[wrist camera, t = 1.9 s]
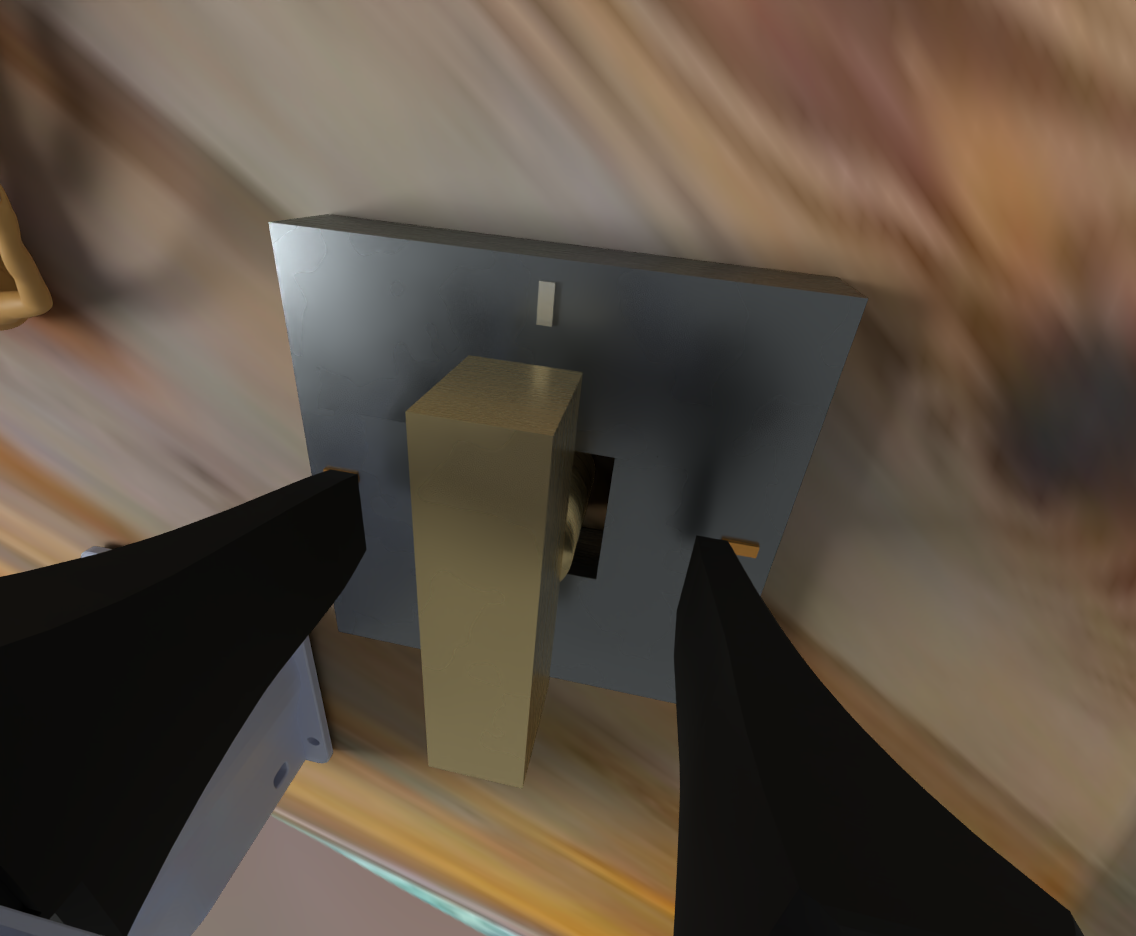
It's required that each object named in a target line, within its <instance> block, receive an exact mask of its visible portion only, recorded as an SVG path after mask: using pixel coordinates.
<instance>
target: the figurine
mask: <svg viewBox="0 0 1136 936" xmlns="http://www.w3.org/2000/svg"><path fill="white" fill-rule="evenodd" d="M0 197H1V201H0V331H2V330H8V329H12V328H15V327H18V326H20V325H21V324H23V323H24V322H25V321H26V320H27V319H28V318H29V317H34V316H38V315H41V314H44V313H46V312H47V311H49V310H50V309H51V308H52V306H53V301H52V297H51V294H50V292H49V289H48V288H47V286H46V284H45V282H44V280H43V279H42V277H41V275H40V272H39V270H38V268H37V266H36V264H35V262H34V260H33V258H32V257H31V255H30V253H29V252H28V250H27V249H26V248H25V246H24V245H23V243H22V240H21V235H20V228H19V224H18V220H17V216H16V214H15V212H14V211H13V209H12V206H11V204H10V201H9V199H8V197H7V195H6V193H5V191H4V189H3V187H2V186H1V184H0Z"/></svg>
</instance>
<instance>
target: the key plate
mask: <svg viewBox="0 0 1136 936" xmlns="http://www.w3.org/2000/svg"><path fill="white" fill-rule="evenodd" d="M269 227H270V233H271V239H272V245H273V251H274V257H275V263H276V268H277V274H278V280H279V286H280V292H281V298H282V303H283V309H284V315H285V321H286V327H287V333H288V339H289V344H290V350H291V356H292V362H293V368H294V374H295V379H296V385H297V391H298V397H299V403H300V409H301V415H302V420H303V426H304V432H305V438H306V444H307V450H308V455H309V461H310V467H311V473H312V476H313V475H315V474H318V473H321V472H324V471H328V470H331V469H332V470H337V471H343V472H348V473H354V474H357V475H358V483H359V491H360V499H361V507H362V516H363V524H364V532H365V540H366V548H367V550H366V552H365V554H364V556H363V557H362V559H361V561H360V563H359V565H358V566H357V568H356V570H355V572H354V573H353V575H352V577H351V578H350V580H349V582H348V583H347V585H346V587H345V588H344V590H343V591H342V592H341V594H340V595H339V596H338V598H337V599H336V600H335V602H334V608H335V613H336V619H337V625H338V631H339V632H344V633H348V634H353V635H358V636H362V637H367V638H372V639H376V640H381V641H386V642H390V643H395V644H400V645H404V646H409V647H414V648H418V649H421V645H420V630H419V614H418V599H417V584H416V568H415V553H414V537H413V522H412V507H411V491H410V476H409V461H408V445H407V430H406V414H405V412H406V411H407V410H408V409H409V408H410V407H411V406H412V405H413V404H415V403H416V402H417V401H418V400H419V399H420V398H421V397H422V396H424V395H425V394H426V393H427V392H428V391H429V390H430V389H431V388H433V387H434V386H435V385H436V384H437V383H438V382H439V381H440V380H441V379H443V378H444V377H445V376H446V375H447V374H448V373H449V372H450V371H452V370H453V369H454V368H455V367H456V366H457V365H458V364H459V363H461V362H462V361H463V360H464V359H465V358H466V357H467V356H468V355H471V356H478V357H484V358H491V359H498V360H504V361H511V362H518V363H524V364H531V365H538V366H544V367H551V368H558V369H564V370H571V371H578V372H583V378H582V387H581V396H580V405H579V414H578V423H577V432H576V441H575V450H574V451H578V452H584V453H590V454H596V455H602V456H608V457H614V458H615V461H614V467H613V474H612V480H611V487H610V493H609V500H608V506H607V513H606V519H605V526H604V531H599V530H593V529H588V528H582V527H581V530H580V534H579V538H578V541H577V545H576V549H575V552H574V556H573V560H572V563H571V566H570V569H569V571H568V573H567V575H566V576H565V577H564V578H563V580H562V581H560V585H559V595H558V604H557V613H556V622H555V631H554V640H553V649H552V658H551V667H550V676H549V677H554V678H558V679H563V680H568V681H572V682H577V683H582V684H586V685H591V686H596V687H600V688H605V689H610V690H614V691H619V692H624V693H628V694H633V695H638V696H642V697H647V698H652V699H656V700H661V701H666V702H670V703H675V704H676V691H675V672H674V643H675V628H676V613H677V608H678V604H679V600H680V596H681V592H682V589H683V585H684V581H685V577H686V573H687V569H688V566H689V562H690V558H691V554H692V550H693V547H694V543H695V539H696V535H698V536H703V537H709V538H714V539H720V540H726V541H728V542H729V544H730V545H731V546H732V548H733V550H734V552H735V554H736V555H737V557H738V559H739V561H740V563H741V564H742V566H743V568H744V570H745V571H746V573H747V575H748V577H749V578H750V580H751V582H752V583H753V585H754V587H755V588H756V590H757V592H758V593H759V595H760V596H761V593H762V590H763V588H764V585H765V582H766V579H767V577H768V574H769V571H770V568H771V566H772V563H773V560H774V557H775V554H776V552H777V549H778V546H779V543H780V541H781V538H782V535H783V532H784V530H785V527H786V524H787V521H788V519H789V516H790V513H791V510H792V508H793V505H794V502H795V499H796V497H797V494H798V491H799V488H800V486H801V483H802V480H803V477H804V474H805V472H806V469H807V466H808V463H809V461H810V458H811V455H812V452H813V450H814V447H815V444H816V441H817V439H818V436H819V433H820V430H821V428H822V425H823V422H824V419H825V417H826V414H827V411H828V408H829V405H830V403H831V400H832V397H833V394H834V392H835V389H836V386H837V383H838V381H839V378H840V375H841V372H842V370H843V367H844V364H845V361H846V359H847V356H848V353H849V350H850V348H851V345H852V342H853V339H854V337H855V334H856V331H857V328H858V325H859V323H860V320H861V317H862V314H863V312H864V309H865V306H866V303H867V301H868V298H867V297H865V296H864V295H862V294H861V293H860V292H858V291H857V290H855V289H854V288H852V287H851V286H849V285H848V284H847V283H845V282H844V281H842V280H841V279H839V278H837V277H829V276H821V275H813V274H805V273H797V272H788V271H780V270H772V269H764V268H756V267H748V266H740V265H732V264H724V263H716V262H708V261H700V260H692V259H684V258H676V257H667V256H659V255H651V254H643V253H635V252H627V251H619V250H611V249H603V248H595V247H587V246H579V245H571V244H563V243H555V242H546V241H538V240H530V239H522V238H514V237H506V236H498V235H490V234H482V233H474V232H466V231H458V230H450V229H442V228H433V227H425V226H417V225H409V224H401V223H393V222H385V221H377V220H369V219H361V218H353V217H345V216H337V215H329V214H326V215H319V216H311V217H304V218H296V219H289V220H281V221H274V222H269Z"/></svg>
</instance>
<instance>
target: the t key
mask: <svg viewBox="0 0 1136 936" xmlns="http://www.w3.org/2000/svg"><path fill="white" fill-rule="evenodd" d="M582 378H583V372H578V371H571V370H564V369H558V368H551V367H544V366H538V365H531V364H524V363H518V362H511V361H504V360H498V359H491V358H484V357H478V356H471V355H468V356H467V357H466V358H465V359H464V360H463V361H462V362H461V363H459V364H458V365H457V366H456V367H455V368H454V369H453V370H452V371H450V372H449V373H448V374H447V375H446V376H445V377H444V378H443V379H441V380H440V381H439V382H438V383H437V384H436V385H435V386H434V387H433V388H431V389H430V390H429V391H428V392H427V393H426V394H425V395H424V396H422V397H421V398H420V399H419V400H418V401H417V402H416V403H415V404H413V405H412V406H411V407H410V408H409V409H408V410H407V411H406V412H405V414H406V430H407V445H408V461H409V476H410V491H411V507H412V522H413V537H414V553H415V568H416V584H417V599H418V614H419V630H420V645H421V661H422V676H423V691H424V707H425V722H426V738H427V753H428V766H430V767H434V768H438V769H442V770H446V771H451V772H455V773H459V774H463V775H467V776H471V777H476V778H480V779H484V780H488V781H492V782H497V783H501V784H505V785H509V786H513V787H517V788H522V789H523V785H524V781H525V777H526V773H527V769H528V765H529V761H530V757H531V753H532V749H533V745H534V741H535V737H536V733H537V729H538V725H539V721H540V717H541V713H542V709H543V706H544V702H545V698H546V694H547V690H548V685H549V676H550V667H551V658H552V649H553V640H554V631H555V622H556V613H557V604H558V595H559V585H560V581H562V580H563V578H564V577H565V576H566V575H567V573H568V571H569V569H570V566H571V563H572V560H573V556H574V552H575V549H576V545H577V541H578V538H579V534H580V530H581V527H582V523H583V519H584V516H585V512H586V508H587V505H588V501H589V497H590V494H591V490H592V486H593V483H594V479H595V463H594V459H593V457H592V454H590V453H584V452H578V451H574V450H575V441H576V432H577V423H578V414H579V405H580V396H581V387H582Z"/></svg>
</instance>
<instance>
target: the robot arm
mask: <svg viewBox="0 0 1136 936" xmlns="http://www.w3.org/2000/svg"><path fill="white" fill-rule="evenodd" d="M366 550H367V548H366V540H365V532H364V524H363V516H362V507H361V499H360V491H359V483H358V475H357V474H354V473H348V472H343V471H337V470H332V469H331V470H328V471H324V472H321V473H318V474H315V475H313V476H310V477H307V478H305V479H302V480H300V481H297V482H295V483H292V484H290V485H287V486H285V487H282V488H280V489H278V490H275V491H273V492H270V493H268V494H265V495H263V496H261V497H258V498H256V499H253V500H251V501H248V502H246V503H243V504H241V505H239V506H236V507H234V508H231V509H229V510H226V511H223V512H221V513H218V514H215V515H213V516H210V517H207V518H205V519H202V520H199V521H197V522H194V523H191V524H189V525H186V526H183V527H181V528H178V529H175V530H172V531H169V532H167V533H164V534H161V535H158V536H155V537H151V538H148V539H145V540H142V541H139V542H136V543H132V544H129V545H126V546H122V547H119V548H116V549H108V548H104V547H98V546H93V547H91V548H89V549H88V550H86V551H85V552H83V553H82V555H81V558H79V559H75V560H71V561H67V562H62V563H58V564H54V565H50V566H46V567H42V568H38V569H34V570H30V571H26V572H21V573H17V574H12V575H7V576H2V577H0V936H191V935H192V934H193V932H194V931H195V930H196V929H197V928H198V926H199V925H200V924H201V923H202V921H203V920H204V918H205V917H206V916H207V914H208V913H209V911H210V910H211V908H212V907H213V905H214V904H215V902H216V901H217V899H218V897H219V896H220V894H221V892H222V891H223V889H224V888H225V886H226V885H227V883H228V882H229V880H230V878H231V877H232V875H233V873H234V872H235V870H236V869H237V867H238V866H239V864H240V862H241V861H242V859H243V858H244V856H245V854H246V853H247V851H248V850H249V848H250V847H251V845H252V844H253V842H254V840H255V839H256V837H257V836H258V834H259V832H260V831H261V829H262V828H263V826H264V824H265V823H266V821H267V820H268V818H269V817H270V815H271V813H272V812H273V810H274V809H275V807H276V805H277V804H278V802H279V801H280V799H281V798H282V796H283V794H284V793H285V791H286V790H287V788H288V786H289V785H290V783H291V782H292V780H293V779H294V777H295V775H296V774H297V772H298V771H299V769H300V767H301V766H302V764H303V763H304V761H305V760H309V761H313V762H317V763H326V762H328V761H329V759H330V758H331V756H332V754H333V749H332V744H331V739H330V734H329V730H328V725H327V720H326V715H325V711H324V706H323V701H322V696H321V692H320V687H319V682H318V678H317V673H316V668H315V663H314V659H313V654H312V649H311V644H310V640H309V634H310V632H311V631H312V630H313V629H314V627H315V626H316V625H317V624H318V622H319V621H320V620H321V618H322V617H323V616H324V615H325V613H326V612H327V611H328V609H329V608H330V607H331V606H332V604H333V603H334V602H335V600H336V599H337V598H338V596H339V595H340V594H341V592H342V591H343V590H344V588H345V587H346V585H347V583H348V582H349V580H350V578H351V577H352V575H353V573H354V572H355V570H356V568H357V566H358V565H359V563H360V561H361V559H362V557H363V556H364V554H365V552H366ZM674 672H675V691H676V709H677V726H678V744H679V761H680V808H679V834H678V858H677V879H676V900H675V919H674V936H1084V935H1083V933H1082V931H1081V930H1080V928H1079V926H1078V925H1077V923H1076V921H1075V920H1074V918H1073V916H1072V915H1071V913H1070V911H1069V910H1067V909H1066V908H1065V907H1064V906H1063V905H1061V904H1060V903H1059V902H1058V901H1056V900H1055V899H1054V898H1053V897H1051V896H1050V895H1049V894H1048V893H1046V892H1045V891H1044V890H1043V889H1042V888H1040V887H1039V886H1038V885H1037V884H1035V883H1034V882H1033V881H1032V880H1030V879H1029V878H1028V877H1027V876H1025V875H1024V874H1023V873H1022V872H1021V871H1019V870H1018V869H1017V868H1016V867H1014V866H1013V865H1012V864H1011V863H1009V862H1008V861H1007V860H1006V859H1004V858H1003V857H1002V856H1001V855H1000V854H998V853H997V852H996V851H995V850H993V849H992V848H991V847H990V846H988V845H987V844H986V843H985V842H983V841H982V840H981V839H980V838H979V837H978V836H976V835H975V834H974V833H973V832H972V831H971V830H969V829H968V828H967V827H966V826H965V825H964V824H963V823H961V822H960V821H959V820H958V819H957V818H956V817H955V816H954V815H953V814H951V813H950V812H949V811H948V810H947V809H946V808H945V807H944V806H942V805H941V804H940V803H939V802H938V801H937V800H936V799H935V798H933V797H932V796H931V795H930V794H929V793H928V792H927V791H926V790H925V789H924V788H923V787H921V786H920V785H919V784H918V783H917V782H916V781H915V780H914V779H913V778H912V777H911V776H910V775H909V774H908V773H907V772H906V771H904V770H903V769H902V768H901V767H900V766H899V765H898V764H897V763H896V762H895V761H894V760H893V759H892V758H891V757H890V756H889V755H888V754H887V753H886V752H885V751H884V750H883V749H882V748H881V747H880V746H879V745H878V744H877V743H876V742H875V741H874V740H873V738H872V737H871V736H870V735H869V734H868V733H867V732H866V731H865V730H864V729H863V728H862V727H861V726H860V725H859V724H858V723H857V722H856V721H855V720H854V719H853V718H852V716H851V715H850V714H849V713H848V712H847V711H846V710H845V709H844V708H843V706H842V705H841V704H840V703H839V702H838V701H837V699H836V698H835V697H834V696H833V695H832V694H831V692H830V691H829V690H828V689H827V688H826V687H825V686H824V684H823V683H822V682H821V681H820V680H819V679H818V677H817V676H816V675H815V674H814V672H813V671H812V670H811V669H810V667H809V666H808V665H807V663H806V662H805V661H804V659H803V658H802V657H801V655H800V654H799V653H798V651H797V650H796V649H795V647H794V646H793V644H792V643H791V642H790V640H789V639H788V637H787V636H786V635H785V633H784V632H783V630H782V629H781V627H780V626H779V624H778V623H777V621H776V620H775V618H774V617H773V615H772V614H771V612H770V611H769V609H768V607H767V606H766V604H765V603H764V601H763V600H762V598H761V596H760V595H759V593H758V592H757V590H756V588H755V587H754V585H753V583H752V582H751V580H750V578H749V577H748V575H747V573H746V571H745V570H744V568H743V566H742V564H741V563H740V561H739V559H738V557H737V555H736V554H735V552H734V550H733V548H732V546H731V545H730V544H729V542H728V541H726V540H720V539H714V538H709V537H703V536H698V535H696V539H695V543H694V547H693V550H692V554H691V558H690V562H689V566H688V569H687V573H686V577H685V581H684V585H683V589H682V592H681V596H680V600H679V604H678V608H677V613H676V628H675V643H674Z"/></svg>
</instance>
